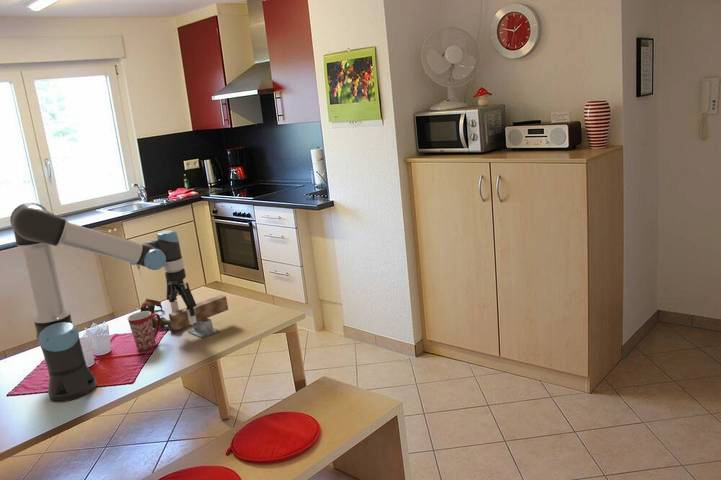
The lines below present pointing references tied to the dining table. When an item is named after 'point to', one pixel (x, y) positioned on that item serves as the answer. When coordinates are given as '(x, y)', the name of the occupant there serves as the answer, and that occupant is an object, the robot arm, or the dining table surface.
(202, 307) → the walnut bar
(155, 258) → the robot arm
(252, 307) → the dining table surface
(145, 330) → the mug
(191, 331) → the fulcrum
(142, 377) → the dining table surface
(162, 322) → the kendama
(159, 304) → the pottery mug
